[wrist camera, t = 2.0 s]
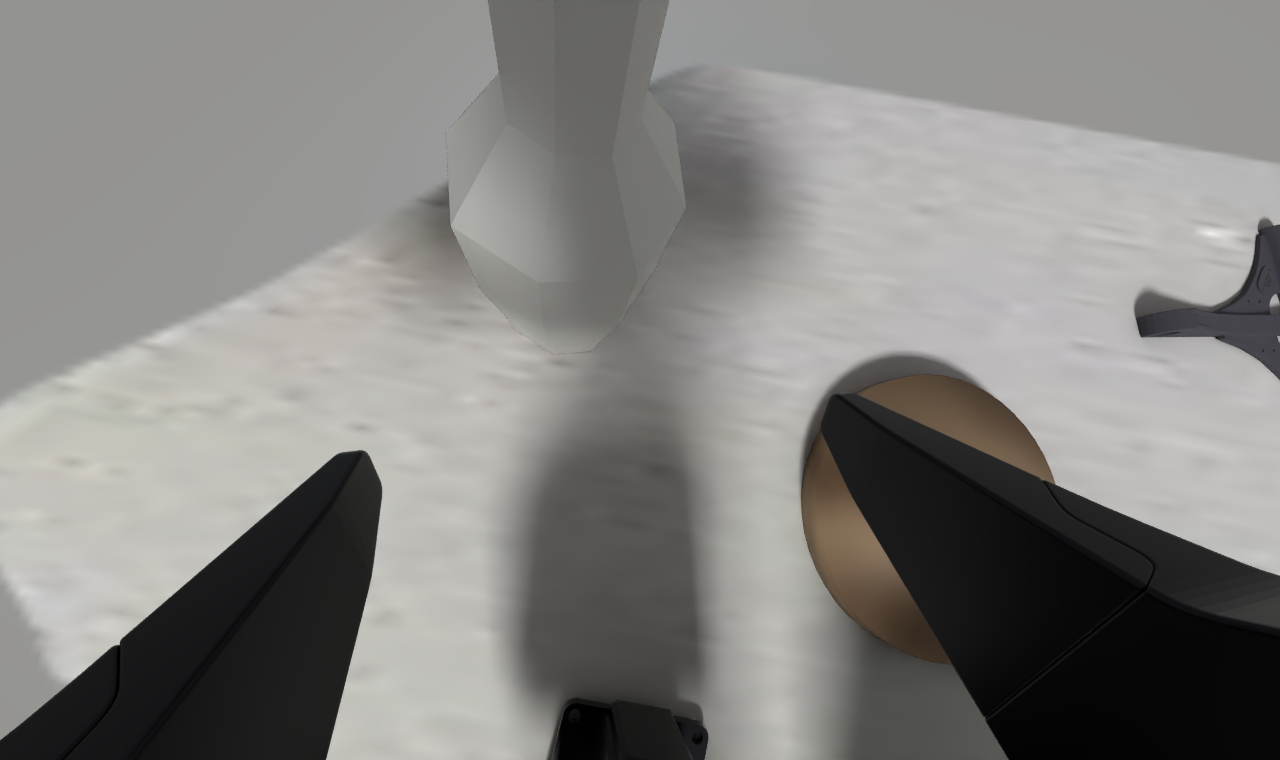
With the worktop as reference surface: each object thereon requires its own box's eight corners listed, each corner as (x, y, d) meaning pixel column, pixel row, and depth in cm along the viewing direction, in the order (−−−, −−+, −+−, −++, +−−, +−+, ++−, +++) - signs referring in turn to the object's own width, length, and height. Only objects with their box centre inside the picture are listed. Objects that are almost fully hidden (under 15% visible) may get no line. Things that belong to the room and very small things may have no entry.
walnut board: (1026, 675, 24) (1057, 689, 22) (780, 621, 22) (795, 632, 20) (1040, 415, 27) (1068, 413, 25) (824, 349, 25) (840, 342, 23)
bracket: (1099, 228, 31) (1151, 206, 28) (1261, 234, 34) (1323, 215, 31) (1148, 441, 29) (1209, 439, 26) (1317, 430, 31) (1389, 428, 29)
